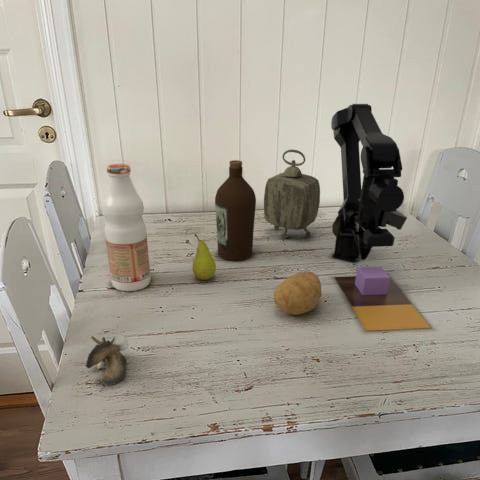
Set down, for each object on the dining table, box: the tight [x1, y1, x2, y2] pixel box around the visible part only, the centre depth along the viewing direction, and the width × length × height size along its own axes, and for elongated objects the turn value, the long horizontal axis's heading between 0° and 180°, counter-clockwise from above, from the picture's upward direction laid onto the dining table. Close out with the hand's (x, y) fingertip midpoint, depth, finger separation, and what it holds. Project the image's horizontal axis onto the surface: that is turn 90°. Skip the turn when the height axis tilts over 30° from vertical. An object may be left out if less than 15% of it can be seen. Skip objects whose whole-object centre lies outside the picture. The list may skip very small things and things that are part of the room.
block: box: [355, 266, 391, 295], centre depth 116 cm, size 6×6×4 cm
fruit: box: [191, 233, 217, 281], centre depth 118 cm, size 6×6×12 cm
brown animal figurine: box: [85, 334, 128, 387], centre depth 88 cm, size 8×7×9 cm
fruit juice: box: [101, 163, 151, 292], centre depth 111 cm, size 9×9×28 cm
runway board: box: [334, 275, 412, 308], centre depth 117 cm, size 15×14×1 cm
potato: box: [273, 270, 323, 316], centre depth 107 cm, size 10×14×8 cm
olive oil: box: [214, 159, 257, 262], centre depth 128 cm, size 11×11×25 cm
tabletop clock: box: [263, 149, 321, 239], centre depth 140 cm, size 14×9×25 cm, turn 58°
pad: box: [351, 303, 431, 332], centre depth 106 cm, size 10×14×1 cm
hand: (363, 259), depth 122 cm, fingers closed
